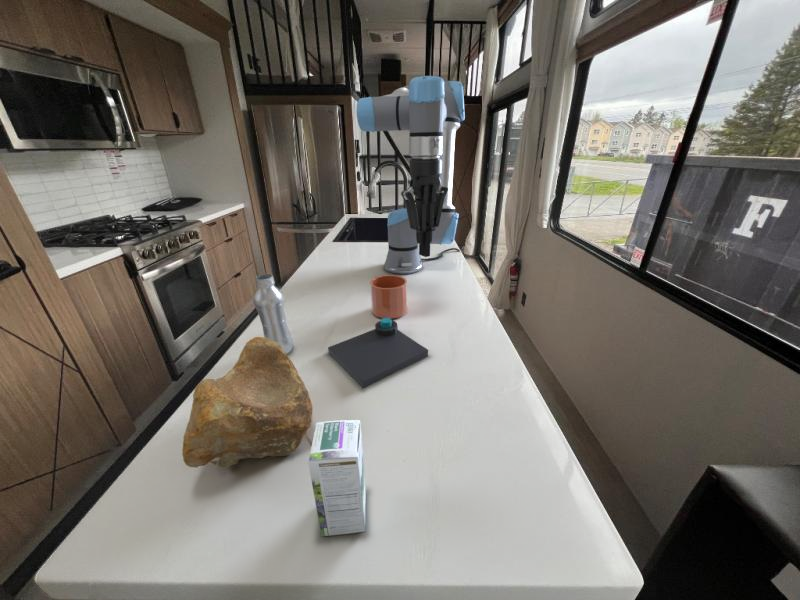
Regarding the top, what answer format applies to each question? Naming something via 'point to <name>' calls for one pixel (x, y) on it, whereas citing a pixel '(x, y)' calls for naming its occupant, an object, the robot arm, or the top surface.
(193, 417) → the rough brown rock
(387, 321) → the tare button
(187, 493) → the top surface
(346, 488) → the syrup box
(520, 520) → the top surface
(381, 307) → the terracotta pot
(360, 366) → the scale
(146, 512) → the top surface
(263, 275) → the silver water bottle
